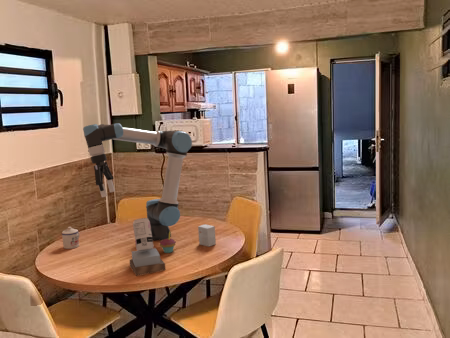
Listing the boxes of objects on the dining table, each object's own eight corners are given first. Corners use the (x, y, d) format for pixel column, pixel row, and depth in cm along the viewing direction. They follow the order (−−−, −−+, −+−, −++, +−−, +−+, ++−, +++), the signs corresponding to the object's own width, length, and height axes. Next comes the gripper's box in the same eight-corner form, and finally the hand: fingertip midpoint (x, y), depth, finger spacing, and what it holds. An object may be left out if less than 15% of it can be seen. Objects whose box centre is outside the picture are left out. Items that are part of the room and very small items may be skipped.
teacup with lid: (72, 249, 249) (70, 229, 247) (59, 248, 252) (57, 228, 250) (86, 243, 260) (84, 223, 258) (73, 242, 263) (71, 223, 261)
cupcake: (178, 249, 241) (177, 228, 239) (171, 254, 233) (170, 232, 231) (164, 248, 244) (163, 227, 242) (157, 253, 236) (155, 231, 234)
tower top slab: (156, 255, 222) (155, 248, 222) (160, 263, 211) (159, 255, 210) (132, 259, 219) (131, 251, 218) (135, 267, 207) (134, 259, 207)
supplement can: (134, 252, 215) (130, 222, 219) (150, 249, 220) (145, 220, 223) (140, 249, 209) (135, 218, 212) (156, 247, 213) (151, 217, 217)
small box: (216, 244, 247) (215, 226, 245) (208, 247, 243) (208, 228, 241) (205, 241, 252) (205, 223, 251) (198, 244, 248) (197, 226, 247)
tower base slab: (157, 262, 224) (157, 254, 224) (165, 271, 211) (164, 263, 211) (130, 267, 219) (129, 259, 218) (136, 277, 206) (135, 268, 205)
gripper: (98, 153, 239) (109, 191, 241) (81, 159, 214) (93, 200, 217) (112, 150, 238) (122, 188, 241) (96, 155, 214) (108, 197, 216)
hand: (108, 194), depth 229 cm, fingers open, 13 cm apart
